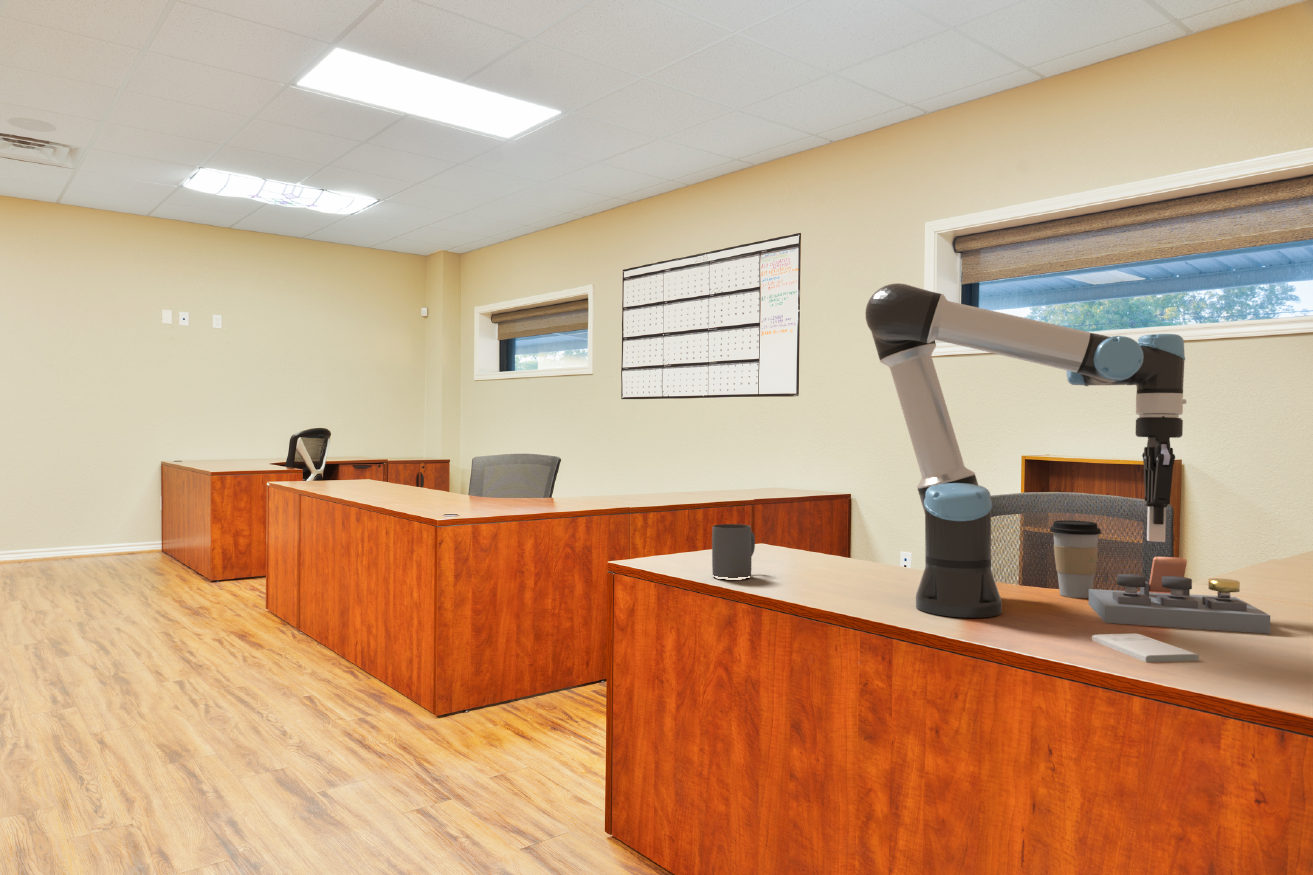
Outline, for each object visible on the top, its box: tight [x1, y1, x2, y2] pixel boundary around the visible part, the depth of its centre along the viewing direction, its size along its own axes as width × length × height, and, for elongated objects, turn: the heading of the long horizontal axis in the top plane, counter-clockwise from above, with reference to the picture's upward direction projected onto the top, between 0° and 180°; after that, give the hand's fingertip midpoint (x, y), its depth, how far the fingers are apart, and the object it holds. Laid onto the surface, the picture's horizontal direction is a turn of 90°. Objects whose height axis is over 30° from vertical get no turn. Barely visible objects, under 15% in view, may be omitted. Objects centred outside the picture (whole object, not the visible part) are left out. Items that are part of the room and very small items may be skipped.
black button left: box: [1116, 573, 1147, 593], centre depth 141 cm, size 4×4×3 cm
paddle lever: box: [1148, 556, 1187, 593], centre depth 144 cm, size 5×1×8 cm, turn 70°
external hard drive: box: [1091, 632, 1200, 663], centre depth 120 cm, size 2×8×12 cm
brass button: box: [1207, 577, 1241, 598], centre depth 136 cm, size 4×4×3 cm
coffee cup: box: [1049, 519, 1102, 599], centre depth 162 cm, size 9×9×15 cm
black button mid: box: [1162, 576, 1193, 596], centre depth 138 cm, size 4×4×3 cm
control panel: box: [1088, 581, 1271, 635], centre depth 141 cm, size 24×16×5 cm, turn 70°
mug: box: [711, 523, 756, 578], centre depth 185 cm, size 14×9×12 cm
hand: (1155, 540), depth 149 cm, fingers closed
